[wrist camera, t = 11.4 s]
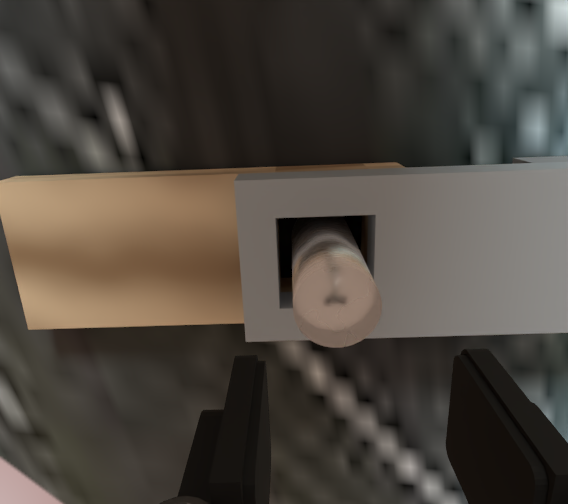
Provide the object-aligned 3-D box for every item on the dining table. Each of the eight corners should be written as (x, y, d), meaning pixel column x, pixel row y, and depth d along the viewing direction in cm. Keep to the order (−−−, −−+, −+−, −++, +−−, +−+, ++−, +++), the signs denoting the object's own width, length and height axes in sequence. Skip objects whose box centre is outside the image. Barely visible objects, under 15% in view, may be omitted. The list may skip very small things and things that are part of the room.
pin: (290, 208, 24) (291, 268, 16) (349, 206, 24) (383, 265, 16) (292, 264, 25) (294, 348, 17) (349, 262, 25) (380, 346, 17)
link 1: (16, 176, 24) (-8, 182, 22) (396, 162, 23) (405, 167, 21) (47, 313, 26) (28, 329, 24) (390, 302, 26) (398, 318, 24)
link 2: (242, 167, 24) (234, 180, 20) (631, 153, 23) (698, 163, 19) (251, 306, 26) (245, 341, 22) (602, 296, 26) (656, 330, 22)
